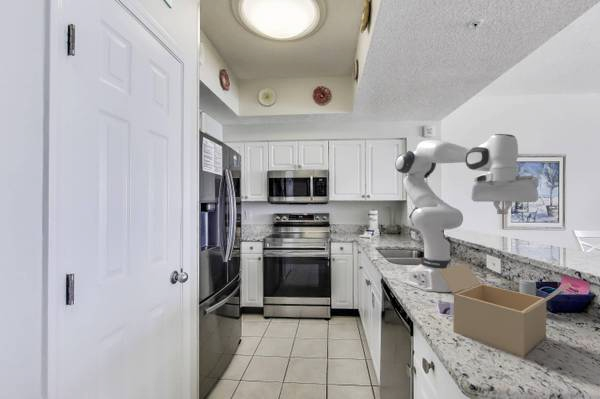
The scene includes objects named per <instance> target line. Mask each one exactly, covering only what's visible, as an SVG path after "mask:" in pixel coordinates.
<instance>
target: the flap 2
mask: <svg viewBox="0 0 600 399" xmlns="http://www.w3.org/2000/svg"><path fill="white" fill-rule="evenodd" d="M572 284H573V283H571V282H569V283H567V284H565V285H564V286H562V287H560V288H559V289H557V290H556V291H554V292H552V293H551V294H550V295H548V296H546V297H544V298H545V299H543V300H542V301H540V302H538V303H537V304H535V305H534V306H532V307H531V308H529V309H527V310H526V311H525V312H526V313H528V312H530V311H531V310H533V309H535V308H536V307H538V306H539V305H541V304H543V303H544V302H546V303H547V301H549V300H550V299H552V298H554V297H555V296H557V295H558V294H559V293H561V292H562V291H564V290H566V289H568V288H569V287H570V286H572Z"/></svg>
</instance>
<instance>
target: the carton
mask: <svg viewBox="0 0 600 399" xmlns="http://www.w3.org/2000/svg"><path fill="white" fill-rule="evenodd" d="M545 298H546V297H541V296H538V295H536V296H533V295H528V294H524V293H520V292H519V291H515V290H510V289H505V288H501V287H497V286H492V285H487V284H483V283H479V284H477V285H474V286H471V287H469V288H466V289H463V290H460V291H458V292H455V293H453V303H454V317H453V332H454V333H456V334H458V335H461V336H463V337H466V338H468V339H470V340H474V341H477V342H479V343H482V344H484V345H487V346H490V347H492V348H495V349H497V350H500V351H503V352H505V353H508V354H511V355H513V356H516V357H519V358H521V359H525V358H527V356H528V355H529V354H530V353H531V352H532V351H533V350H535V349H536V348H537V347H538V346H539V345H540V344H541V343H542V342H543V341H544V340H546V338H547V301H546V302H544V303H543V304H541V305H539V306H538V307H536V308H535V309H533V310H531V311H530V312H528V313H526V312H525V311H526V310H527V309H529V308H531V307H532V306H534V305H535V304H537V303H538V302H540V301H542V300H543V299H545Z"/></svg>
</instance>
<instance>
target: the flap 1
mask: <svg viewBox="0 0 600 399" xmlns="http://www.w3.org/2000/svg"><path fill="white" fill-rule="evenodd" d="M438 272H439V273H440V275H441V276H442V278H443V279H444V281H445V282H446V284H447V285H448V287H449V288H450V289H451V293H452V294H455V293H458V292H460V291H463V290H466V289H468V288H471V287H474V286H476V285H479V284H481V281H480V280H479V279H478V277H477V276H476V275H475V274H474V272H473V271H472V270H471V268H470V267H469V265H468V264H467V263H466V262H465V263H461V264H456V265H451V267H448V268H444V269H440V270H438Z"/></svg>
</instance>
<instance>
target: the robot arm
mask: <svg viewBox="0 0 600 399" xmlns="http://www.w3.org/2000/svg"><path fill="white" fill-rule="evenodd" d="M518 158H519V145H518V140H517V137H516V136H515V135H513V134H507V133H497V134H493V135H491V136H490V137H489V138H488V140H486V141H484V142H483V143H482V144H479V145H477V146H475V147H472V148H469V147H464V146H462V145H458V144H455V143H453V142H449V141H446V140H440V139H428V140H423V141H420V142H419V143H418V144H417V145H416V149H415V151H412V150H409V151H407V152H404V153H402V154H399V155H398V156H397V157H396V159H395V162H394V163H395V169H396V172H399V173H401V174H407V175H406V176H404V178H403V181H402V182H403V187H404V190H405V192H406V194H407V195H408V197H409V199H410V201H411V202H412V204H413V205H414V207H416V209H414V210H413V212H412V214H411V222H412V224H413V226H414V227H415V228H416V229H417V230H418V231H419V233H420V235H421V236H422V240H423V244H424V246H423V250H424V253H423V254H424V256H423V257H420V258H419V261H420V264H418V265H416V266H415V267H413V268H412V269H410V270H409V272H408V275H407V278H404V279H403V282H402V283H404V284H405V285H409V286H410V287H411V286H412V287H414V288H417V289H420V290H422V291H425V292H437V293H448V292H449V293H450V292H451V293H452V291H451V289H450V288H449V287H448V285H447V284H446V282H445V281H444V279H443V278H442V276H441V275H440V273H439V272H438V270H440V269H444V268H448V267H452V262H451V261H452V260H451V244H450V242H449V241H448V240H447V239H446V238H445V237H444V236H443V233H442V230H452V229H453V230H454V229H456V228H457V229H458V228H460V227H461V226H462V224H463V222H464V216H463V212H462V211H461V210H460V209H458V208H455V207H453V206H451V205H450V204H449V203H447V202H445V201H444V200H443V199H441V198H440V197H439V196H437V194H436V193H435V192H434V191H433V189H432V188H431V187H430V186H429V184H428V182H426V180H425V179H426V178H428V177H430V175H431V174H432V173H433V172H434V171H435V169H436V166H437V164H455V163H456V164H457V163H459V164H460V163H465V165H466V166H467V168H468V169H469V170H472V171H479V172H487V173H483V174H480V175H478V176H475V177H474V178H473V180H474V184H473V185H472V188H471V196H470V197H471V200H472V201H473V202H476V203H478V202H481V203H482V202H488V203H489V202H491V203H492V202H493V206H494V208H495V209H496V214H497V215H509V210H510V208H511V207H512V205H513V204H512V203H517V202H518V203H520V202H521V203H535V202H536V203H537V201H538V200H539V193H538V191H539V190H538V187H539V184H540V183H539V182H540V180H539V178H538V177H537V176H534V175H519V167H518V163H517V161H518ZM518 175H519V176H518ZM502 202H504V205H505V208H504V209H502V208H501V207H500V205H501V203H502Z"/></svg>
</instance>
